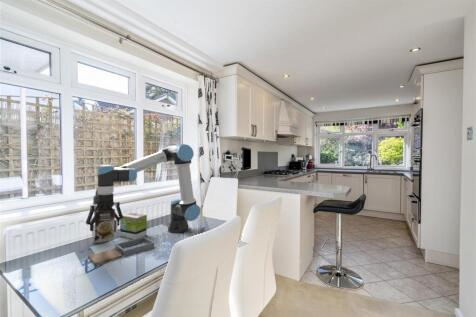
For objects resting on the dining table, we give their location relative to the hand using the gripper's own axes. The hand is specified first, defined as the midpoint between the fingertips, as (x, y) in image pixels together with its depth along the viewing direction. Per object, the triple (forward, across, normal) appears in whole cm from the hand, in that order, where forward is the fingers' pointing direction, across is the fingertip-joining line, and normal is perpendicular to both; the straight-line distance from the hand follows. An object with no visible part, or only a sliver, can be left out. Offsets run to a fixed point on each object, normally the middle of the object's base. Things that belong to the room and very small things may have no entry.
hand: (105, 234), depth 122 cm
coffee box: (+3, 0, 0) cm, 3 cm away
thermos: (+13, -7, -28) cm, 32 cm away
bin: (+13, -17, -1) cm, 21 cm away
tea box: (+13, -25, -23) cm, 36 cm away
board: (+13, 0, 0) cm, 13 cm away
